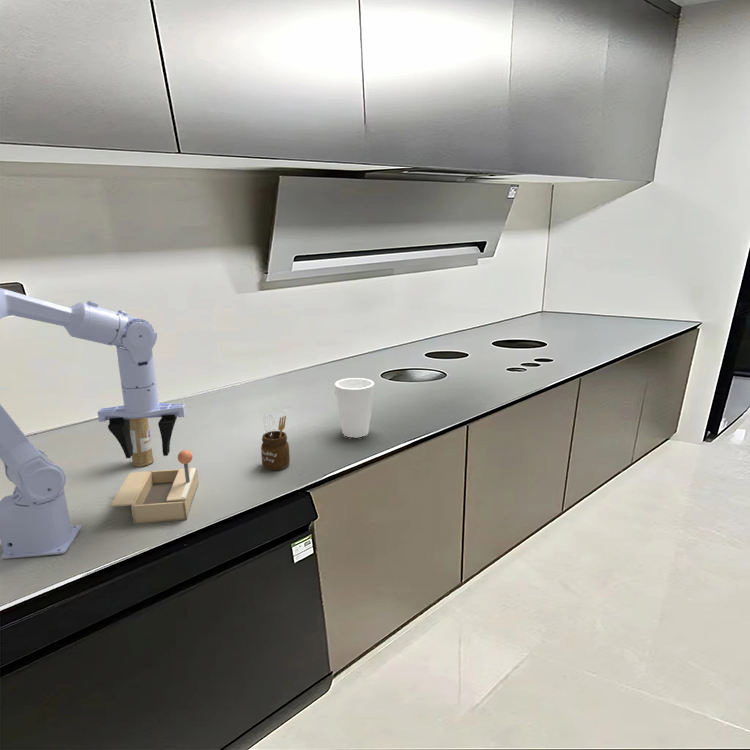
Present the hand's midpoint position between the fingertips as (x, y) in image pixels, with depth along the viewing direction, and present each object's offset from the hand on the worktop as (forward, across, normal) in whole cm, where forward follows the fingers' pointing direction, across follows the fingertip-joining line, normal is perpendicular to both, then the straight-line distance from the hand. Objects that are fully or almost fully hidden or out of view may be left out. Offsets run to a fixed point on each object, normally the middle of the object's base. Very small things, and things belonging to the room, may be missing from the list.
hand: (148, 454), depth 102 cm
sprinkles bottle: (+10, +6, -19) cm, 22 cm away
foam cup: (+10, -42, -28) cm, 51 cm away
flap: (+6, -6, 0) cm, 9 cm away
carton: (+10, -1, 0) cm, 10 cm away
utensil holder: (+10, -22, -13) cm, 28 cm away
